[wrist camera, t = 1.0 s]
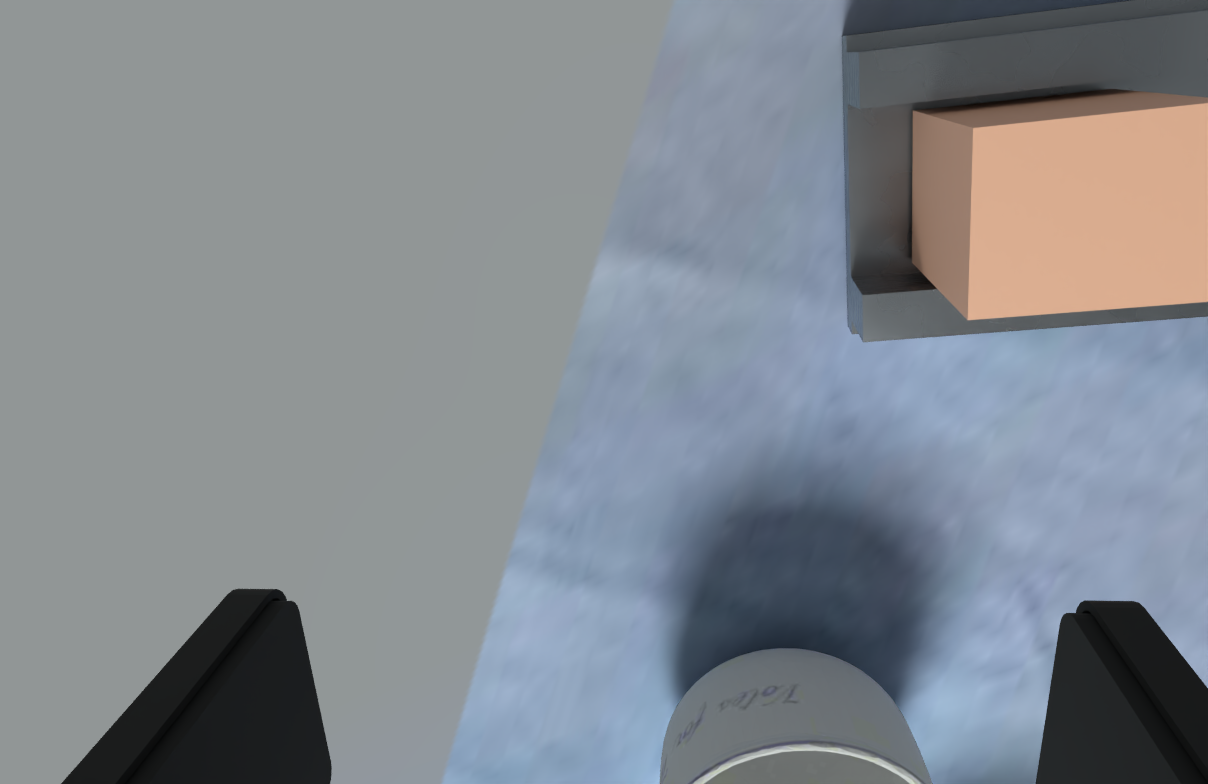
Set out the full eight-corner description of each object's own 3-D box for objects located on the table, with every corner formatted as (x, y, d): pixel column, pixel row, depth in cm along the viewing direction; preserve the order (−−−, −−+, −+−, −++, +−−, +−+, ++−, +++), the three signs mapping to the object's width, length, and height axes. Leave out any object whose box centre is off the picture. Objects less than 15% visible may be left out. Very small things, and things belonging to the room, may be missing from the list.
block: (1111, 88, 28) (1235, 100, 21) (1098, 246, 29) (1209, 301, 23) (912, 110, 29) (973, 127, 22) (911, 262, 30) (967, 320, 24)
